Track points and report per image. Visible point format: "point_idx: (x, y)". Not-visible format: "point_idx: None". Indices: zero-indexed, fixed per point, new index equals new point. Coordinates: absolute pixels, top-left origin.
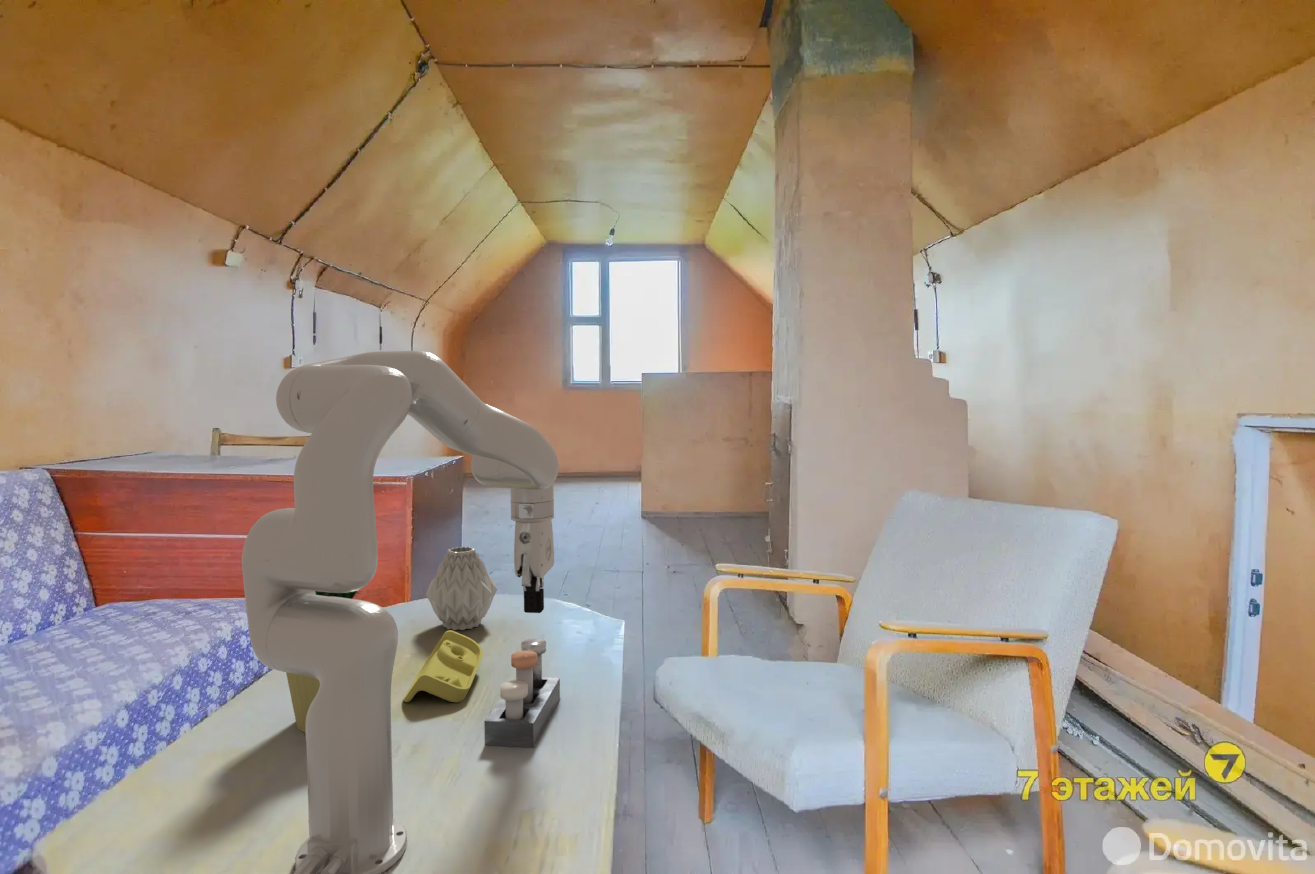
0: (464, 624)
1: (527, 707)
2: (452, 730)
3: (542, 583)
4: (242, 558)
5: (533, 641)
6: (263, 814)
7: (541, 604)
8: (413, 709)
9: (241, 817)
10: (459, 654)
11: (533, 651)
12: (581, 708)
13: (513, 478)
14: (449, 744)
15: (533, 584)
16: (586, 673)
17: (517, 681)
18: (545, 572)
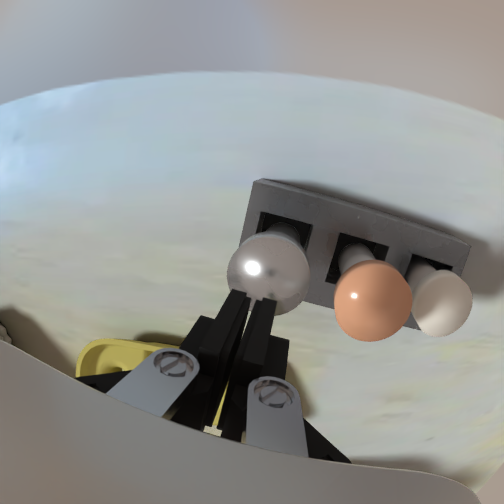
0: (5, 340)
1: (405, 257)
2: (358, 363)
3: (163, 367)
4: None
5: (254, 278)
6: (460, 468)
7: (273, 318)
8: None
9: (456, 477)
10: (111, 371)
11: (349, 279)
12: (313, 134)
13: None
14: (402, 361)
15: (348, 462)
16: (140, 126)
17: (425, 301)
18: (354, 482)
